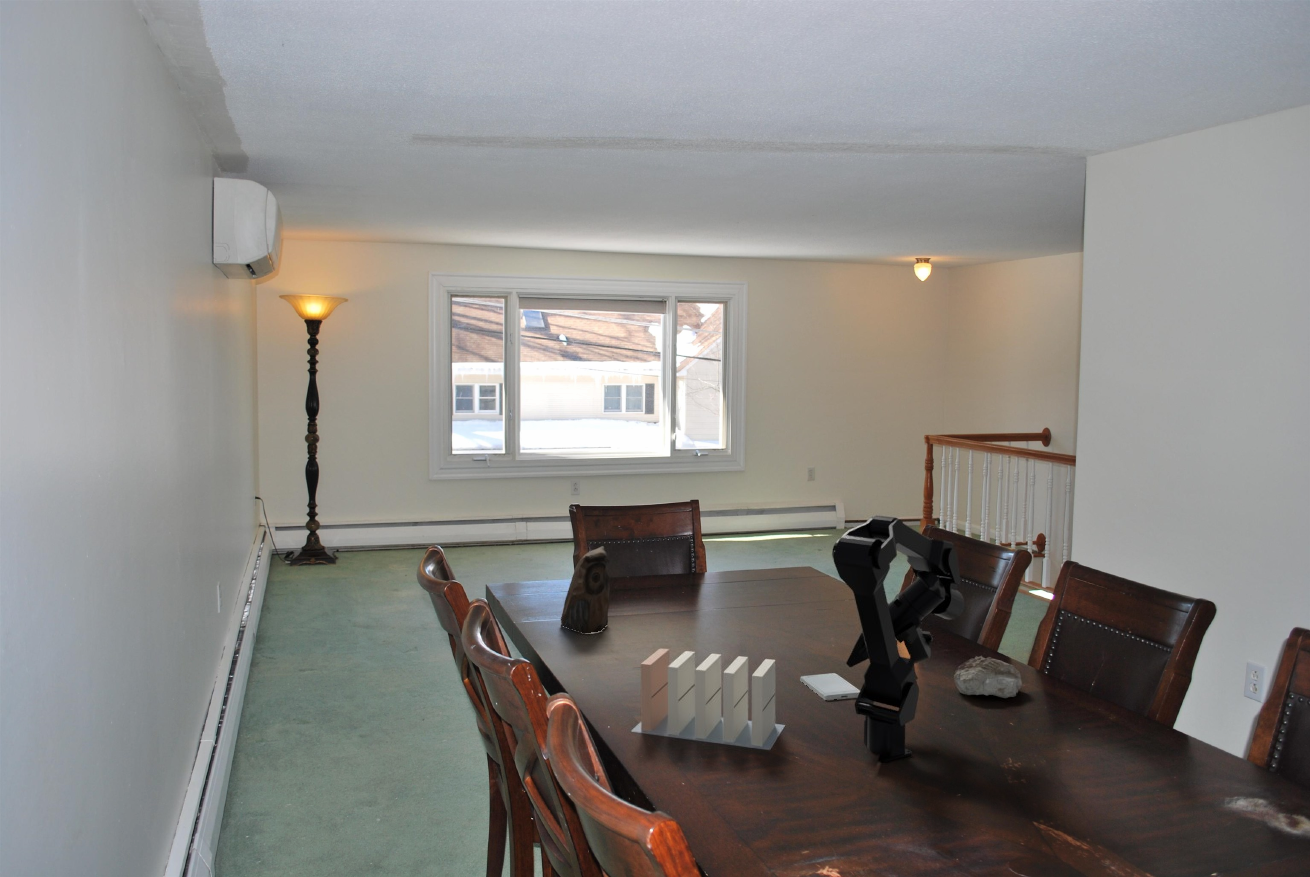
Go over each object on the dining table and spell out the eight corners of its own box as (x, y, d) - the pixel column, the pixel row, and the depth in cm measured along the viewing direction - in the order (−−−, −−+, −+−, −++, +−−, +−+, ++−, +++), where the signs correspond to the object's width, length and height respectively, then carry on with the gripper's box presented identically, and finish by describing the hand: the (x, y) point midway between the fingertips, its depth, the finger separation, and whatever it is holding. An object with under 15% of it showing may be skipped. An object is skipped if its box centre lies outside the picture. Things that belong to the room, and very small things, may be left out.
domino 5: (775, 725, 170) (775, 659, 169) (762, 746, 161) (762, 676, 160) (765, 724, 171) (765, 658, 170) (751, 745, 161) (751, 675, 161)
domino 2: (695, 716, 175) (695, 651, 174) (677, 735, 166) (677, 667, 165) (685, 714, 176) (685, 650, 175) (667, 734, 167) (667, 666, 166)
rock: (981, 694, 181) (969, 642, 186) (949, 706, 188) (938, 656, 193) (1038, 697, 187) (1025, 647, 192) (1004, 709, 194) (992, 661, 199)
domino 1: (669, 712, 177) (669, 649, 176) (650, 731, 168) (650, 664, 167) (660, 711, 178) (659, 648, 177) (641, 730, 168) (640, 663, 167)
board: (785, 729, 171) (785, 725, 171) (769, 754, 159) (769, 749, 159) (654, 713, 179) (654, 708, 179) (630, 735, 168) (630, 731, 168)
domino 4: (748, 722, 172) (748, 657, 171) (733, 742, 162) (733, 673, 162) (738, 721, 172) (738, 656, 172) (723, 741, 163) (723, 672, 162)
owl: (604, 620, 248) (604, 543, 246) (624, 631, 236) (624, 551, 235) (559, 625, 242) (558, 547, 241) (577, 638, 231) (576, 556, 229)
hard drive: (799, 676, 198) (825, 695, 186) (836, 672, 200) (863, 691, 188) (799, 683, 198) (825, 703, 186) (836, 680, 200) (863, 699, 188)
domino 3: (721, 719, 174) (721, 654, 173) (705, 738, 164) (705, 670, 163) (711, 718, 174) (711, 653, 173) (695, 737, 165) (695, 669, 164)
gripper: (944, 653, 159) (876, 710, 164) (949, 624, 177) (888, 677, 181) (896, 603, 161) (830, 661, 166) (905, 579, 179) (846, 632, 183)
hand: (851, 659), depth 174 cm, fingers open, 7 cm apart
